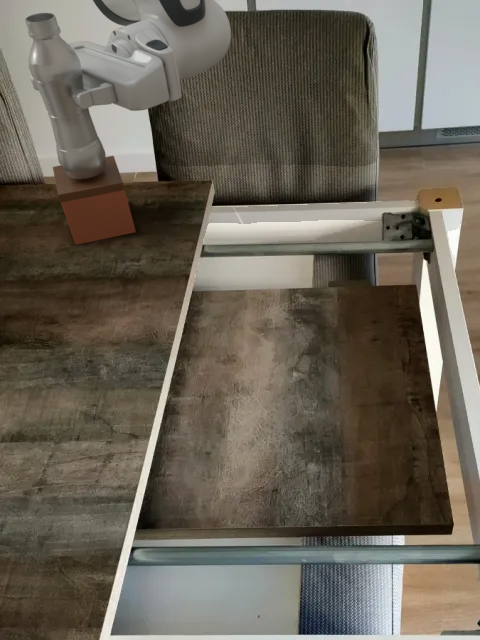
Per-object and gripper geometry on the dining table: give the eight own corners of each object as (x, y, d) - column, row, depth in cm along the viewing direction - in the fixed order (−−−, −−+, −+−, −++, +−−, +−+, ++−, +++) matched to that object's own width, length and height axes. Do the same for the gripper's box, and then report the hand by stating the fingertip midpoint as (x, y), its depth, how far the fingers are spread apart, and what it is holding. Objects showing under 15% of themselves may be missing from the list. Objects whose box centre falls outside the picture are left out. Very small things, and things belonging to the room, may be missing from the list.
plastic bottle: (55, 183, 93) (1, 25, 78) (78, 161, 98) (30, 7, 83) (97, 187, 92) (49, 27, 77) (118, 164, 97) (76, 10, 82)
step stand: (75, 245, 97) (57, 194, 91) (69, 215, 103) (52, 166, 97) (136, 232, 99) (122, 182, 93) (126, 204, 105) (113, 155, 99)
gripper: (86, 22, 95) (2, 50, 88) (181, 51, 86) (95, 85, 79) (98, 69, 100) (19, 99, 93) (189, 101, 91) (109, 137, 84)
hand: (55, 93), depth 86 cm, fingers open, 8 cm apart
